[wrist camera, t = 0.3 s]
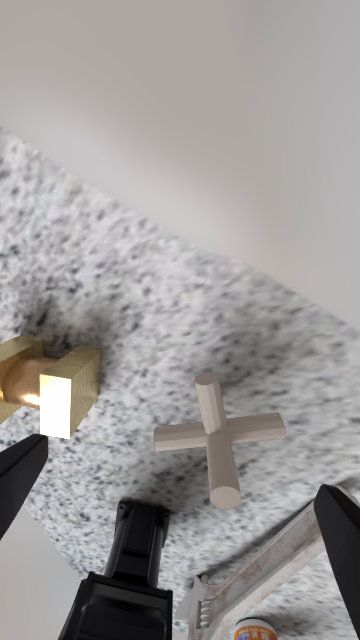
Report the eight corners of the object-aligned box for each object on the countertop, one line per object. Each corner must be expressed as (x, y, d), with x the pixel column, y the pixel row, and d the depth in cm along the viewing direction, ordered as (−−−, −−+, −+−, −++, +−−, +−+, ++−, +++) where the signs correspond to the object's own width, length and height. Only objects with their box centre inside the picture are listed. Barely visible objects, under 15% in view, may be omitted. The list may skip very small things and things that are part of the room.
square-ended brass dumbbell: (101, 349, 22) (70, 379, 16) (98, 397, 23) (69, 439, 18) (19, 335, 22) (-37, 360, 17) (22, 383, 23) (-30, 420, 18)
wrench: (330, 467, 27) (176, 604, 31) (321, 459, 27) (166, 598, 31) (393, 543, 19) (176, 714, 23) (380, 533, 19) (162, 707, 23)
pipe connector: (174, 439, 24) (160, 559, 14) (154, 358, 22) (121, 438, 12) (266, 429, 23) (318, 552, 13) (256, 342, 20) (312, 416, 11)
